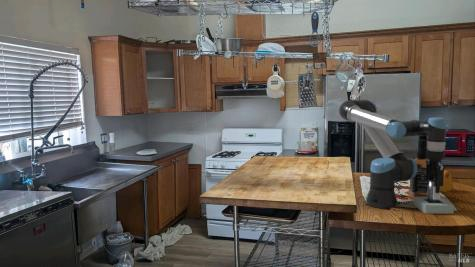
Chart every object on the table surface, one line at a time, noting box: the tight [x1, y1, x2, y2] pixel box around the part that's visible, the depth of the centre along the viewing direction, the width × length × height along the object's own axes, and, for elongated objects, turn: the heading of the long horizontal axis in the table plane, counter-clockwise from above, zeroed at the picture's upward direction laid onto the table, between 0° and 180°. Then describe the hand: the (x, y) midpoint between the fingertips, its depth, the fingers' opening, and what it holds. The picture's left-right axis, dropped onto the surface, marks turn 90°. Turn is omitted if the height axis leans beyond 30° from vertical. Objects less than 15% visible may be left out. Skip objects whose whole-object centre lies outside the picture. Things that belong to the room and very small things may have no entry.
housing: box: [412, 196, 455, 215], centre depth 175 cm, size 13×13×5 cm
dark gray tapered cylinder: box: [427, 179, 439, 203], centre depth 174 cm, size 5×5×14 cm
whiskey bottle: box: [408, 139, 428, 199], centre depth 194 cm, size 10×10×32 cm
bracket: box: [440, 169, 454, 193], centre depth 210 cm, size 11×7×12 cm, turn 113°
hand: (433, 197), depth 174 cm, fingers closed on dark gray tapered cylinder, 5 cm apart
